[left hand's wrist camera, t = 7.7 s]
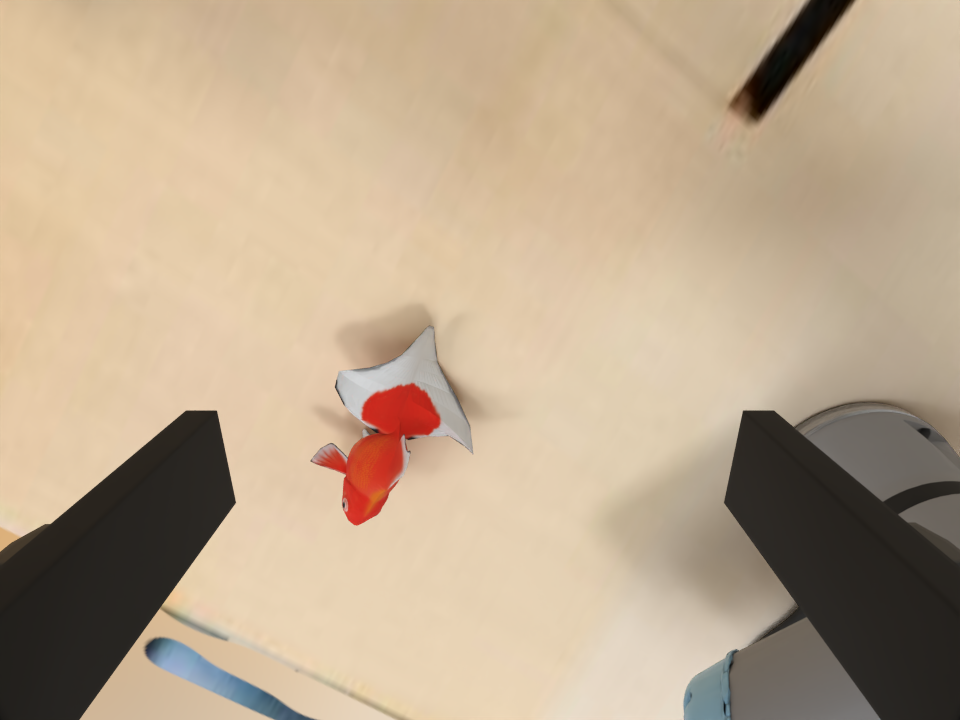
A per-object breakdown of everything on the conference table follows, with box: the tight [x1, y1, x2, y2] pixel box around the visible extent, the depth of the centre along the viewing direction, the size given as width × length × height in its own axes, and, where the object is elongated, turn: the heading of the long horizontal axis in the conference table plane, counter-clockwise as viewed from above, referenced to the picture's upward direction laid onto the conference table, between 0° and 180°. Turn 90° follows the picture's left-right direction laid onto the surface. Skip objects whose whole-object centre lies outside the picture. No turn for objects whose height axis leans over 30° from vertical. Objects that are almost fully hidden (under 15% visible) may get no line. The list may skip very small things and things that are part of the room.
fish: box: [311, 326, 473, 526], centre depth 38 cm, size 11×16×10 cm
